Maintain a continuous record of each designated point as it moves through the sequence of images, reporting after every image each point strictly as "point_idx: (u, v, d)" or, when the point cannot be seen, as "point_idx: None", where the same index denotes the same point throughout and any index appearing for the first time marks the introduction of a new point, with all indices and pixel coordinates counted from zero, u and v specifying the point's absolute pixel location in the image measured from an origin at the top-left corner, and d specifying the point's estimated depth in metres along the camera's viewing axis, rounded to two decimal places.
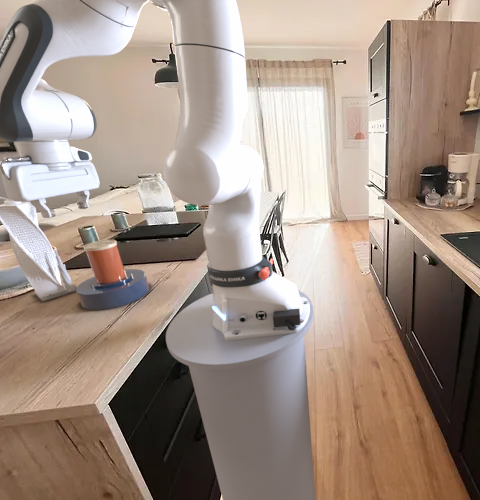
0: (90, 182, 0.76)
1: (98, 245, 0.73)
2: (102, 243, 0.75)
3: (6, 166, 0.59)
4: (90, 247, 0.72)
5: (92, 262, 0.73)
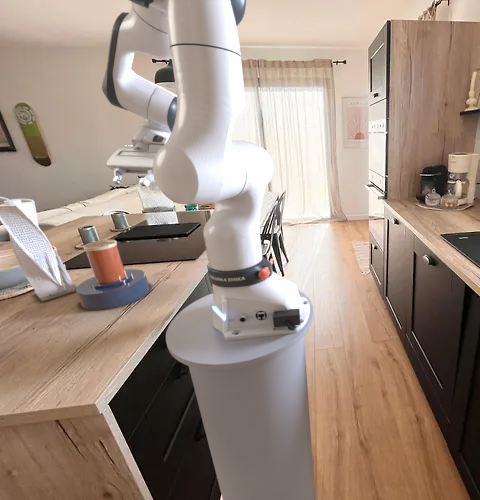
0: None
1: (98, 245, 0.73)
2: (102, 243, 0.75)
3: None
4: (90, 247, 0.72)
5: (92, 262, 0.73)
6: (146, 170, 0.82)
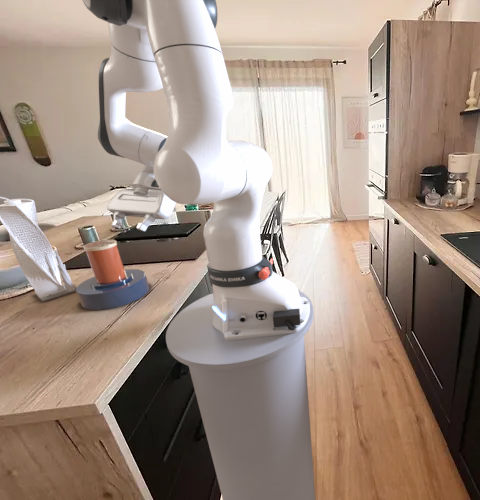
0: (152, 207, 0.80)
1: (98, 245, 0.73)
2: (102, 243, 0.75)
3: None
4: (90, 247, 0.72)
5: (92, 262, 0.73)
6: (144, 214, 0.83)
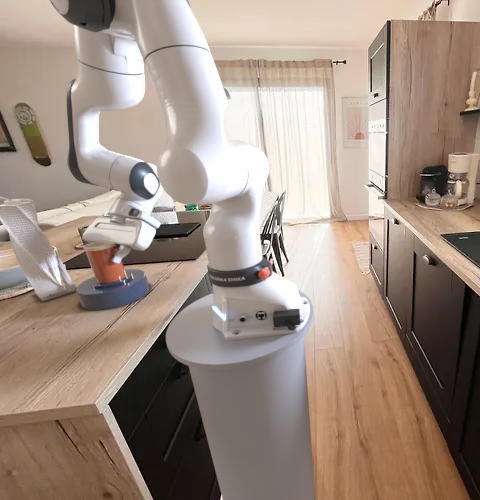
0: (129, 238, 0.74)
1: (98, 245, 0.73)
2: (102, 243, 0.75)
3: None
4: (90, 247, 0.72)
5: (92, 262, 0.73)
6: None
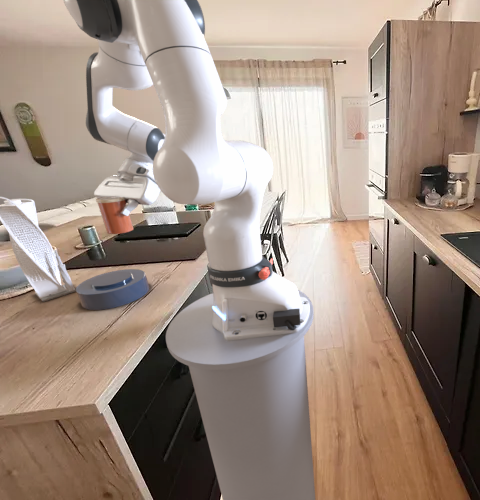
0: (137, 193, 0.83)
1: (109, 198, 0.81)
2: (112, 197, 0.83)
3: None
4: (102, 199, 0.80)
5: (103, 213, 0.81)
6: None
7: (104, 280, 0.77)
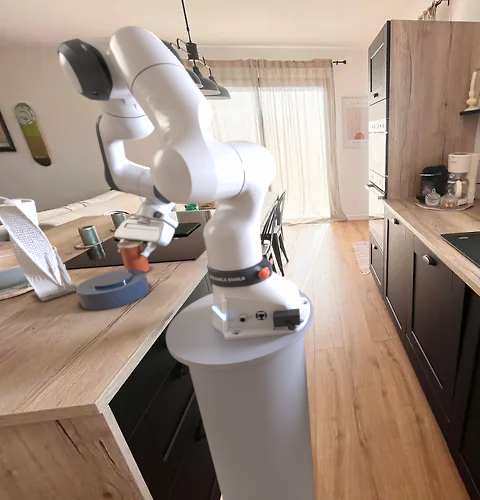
0: (153, 236, 0.91)
1: (129, 243, 0.90)
2: (132, 242, 0.91)
3: None
4: (123, 245, 0.89)
5: (124, 257, 0.90)
6: (147, 241, 0.94)
7: (104, 280, 0.77)
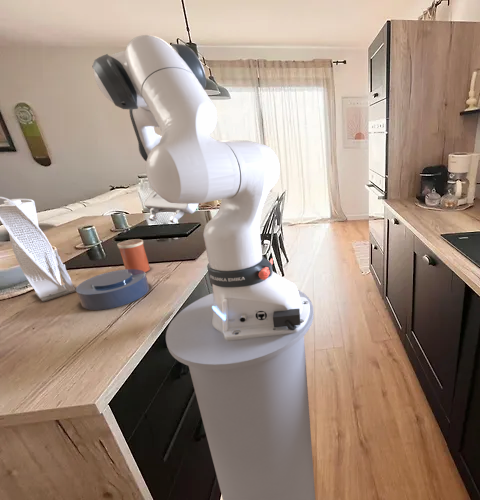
0: (181, 203, 1.00)
1: (129, 243, 0.90)
2: (132, 242, 0.91)
3: None
4: (123, 245, 0.89)
5: (124, 257, 0.90)
6: (175, 209, 1.03)
7: (104, 280, 0.77)
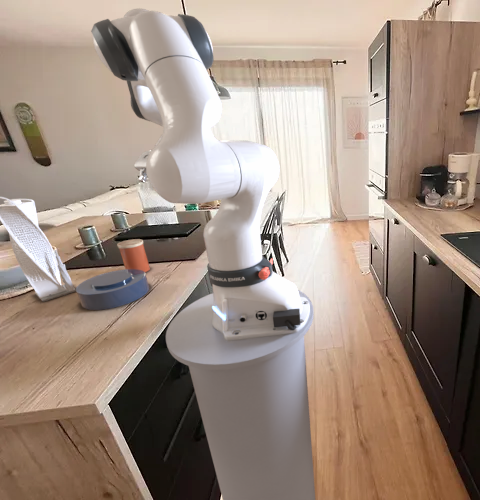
0: None
1: (129, 243, 0.90)
2: (132, 242, 0.91)
3: None
4: (123, 245, 0.89)
5: (124, 257, 0.90)
6: None
7: (104, 280, 0.77)
